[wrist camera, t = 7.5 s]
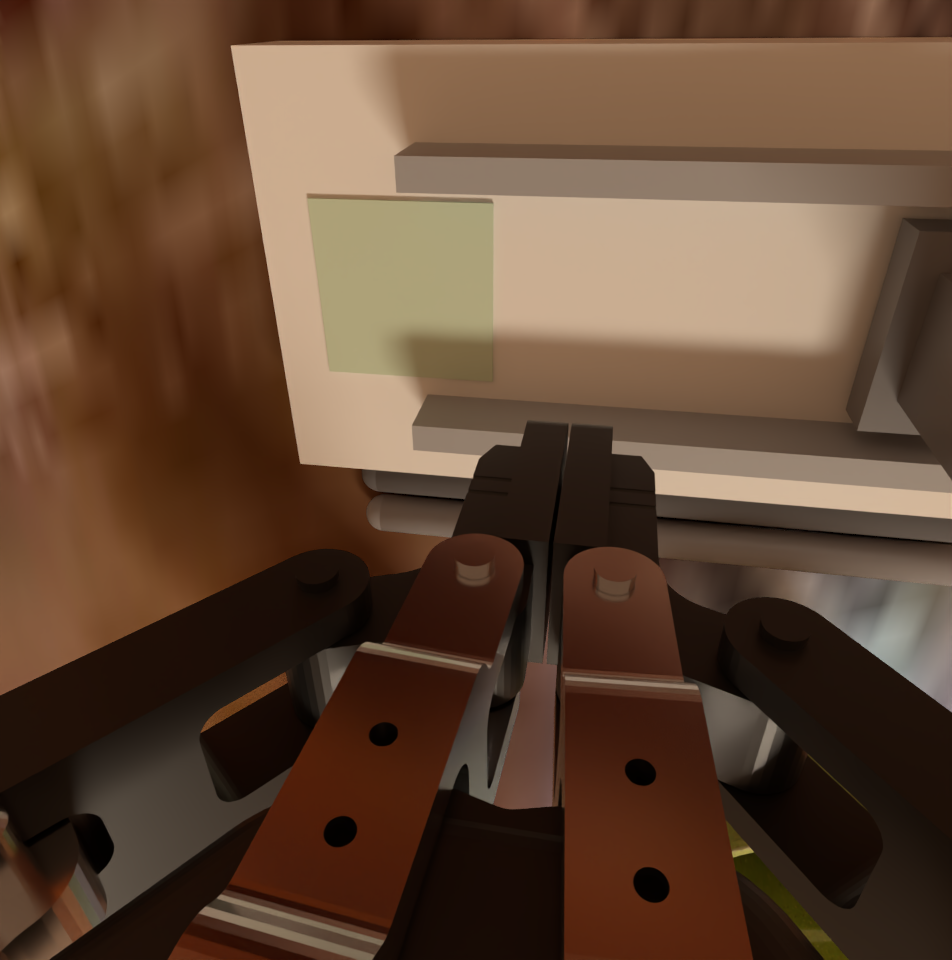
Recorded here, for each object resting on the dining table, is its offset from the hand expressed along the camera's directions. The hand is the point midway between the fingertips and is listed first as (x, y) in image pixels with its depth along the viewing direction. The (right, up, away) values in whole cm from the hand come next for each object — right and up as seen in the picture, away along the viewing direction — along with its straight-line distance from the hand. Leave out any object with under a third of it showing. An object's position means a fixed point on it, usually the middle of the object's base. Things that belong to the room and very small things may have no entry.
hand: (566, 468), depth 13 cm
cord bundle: (+5, -1, +13) cm, 14 cm away
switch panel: (+5, +6, +9) cm, 12 cm away
